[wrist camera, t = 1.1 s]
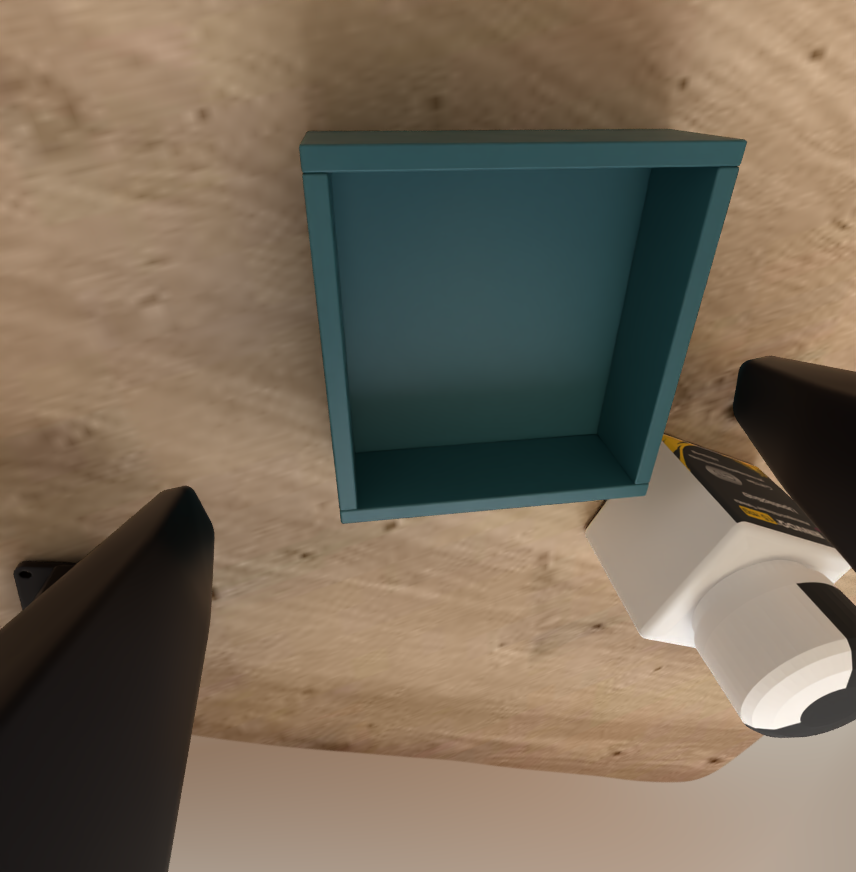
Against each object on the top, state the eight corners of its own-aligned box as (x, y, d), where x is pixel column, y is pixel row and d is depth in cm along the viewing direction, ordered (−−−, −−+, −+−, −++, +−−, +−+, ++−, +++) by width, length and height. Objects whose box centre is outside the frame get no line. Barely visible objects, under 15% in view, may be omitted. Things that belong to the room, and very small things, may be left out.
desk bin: (603, 439, 27) (646, 496, 23) (340, 459, 25) (341, 524, 22) (670, 128, 20) (748, 139, 16) (306, 131, 18) (298, 144, 14)
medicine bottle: (757, 464, 29) (973, 660, 19) (677, 556, 33) (827, 765, 23) (655, 428, 27) (841, 630, 17) (580, 531, 30) (700, 752, 20)
